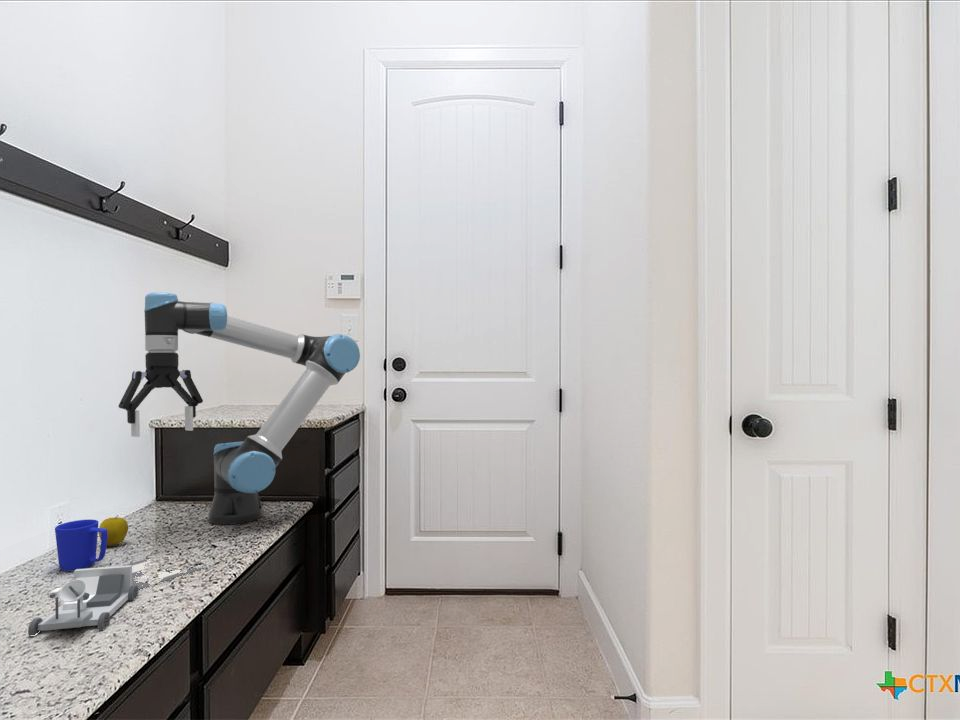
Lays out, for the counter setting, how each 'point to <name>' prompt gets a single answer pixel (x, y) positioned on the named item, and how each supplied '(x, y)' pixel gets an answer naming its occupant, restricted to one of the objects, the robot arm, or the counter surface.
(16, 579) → the counter surface
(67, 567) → the mug
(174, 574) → the label panel
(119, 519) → the apple
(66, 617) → the toy car
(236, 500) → the robot arm
